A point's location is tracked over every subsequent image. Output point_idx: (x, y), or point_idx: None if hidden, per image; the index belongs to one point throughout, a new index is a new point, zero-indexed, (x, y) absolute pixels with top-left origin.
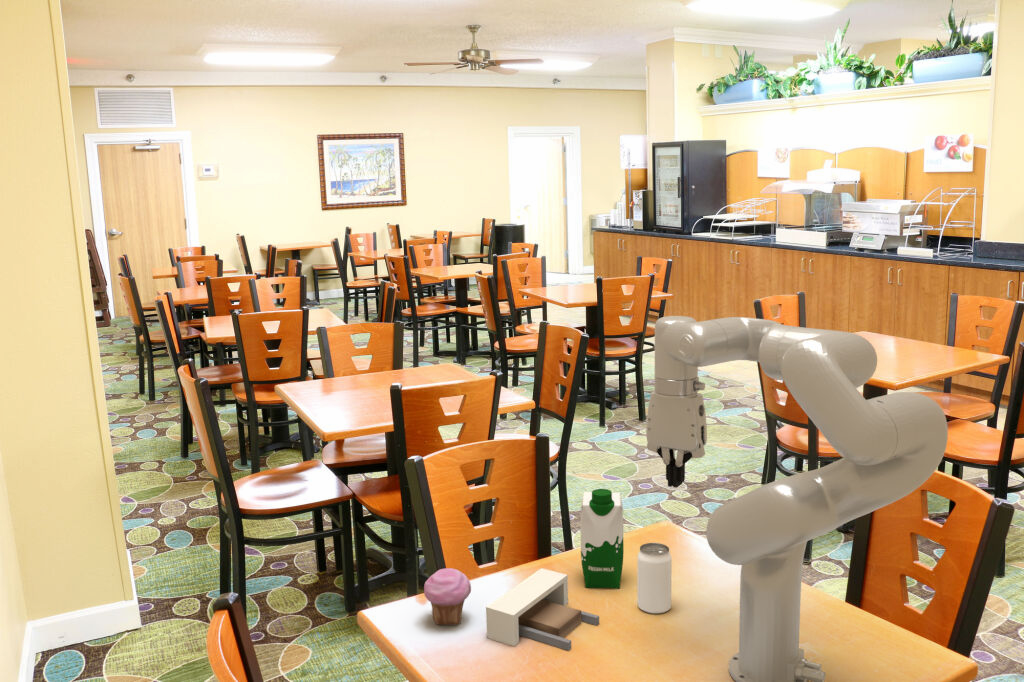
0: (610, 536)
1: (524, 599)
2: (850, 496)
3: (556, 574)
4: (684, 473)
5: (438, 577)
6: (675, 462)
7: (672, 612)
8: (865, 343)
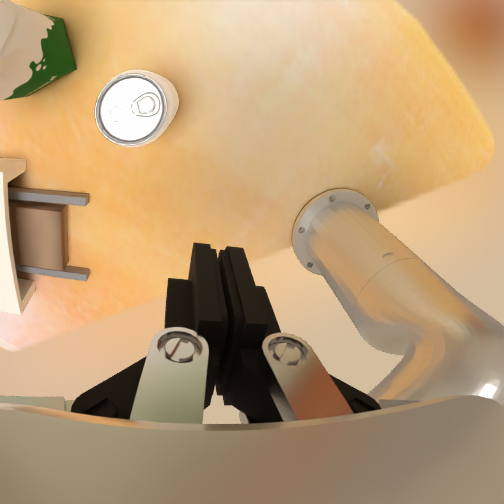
0: (17, 82)
1: (2, 274)
2: None
3: None
4: (269, 309)
5: None
6: (234, 405)
7: (184, 109)
8: None
